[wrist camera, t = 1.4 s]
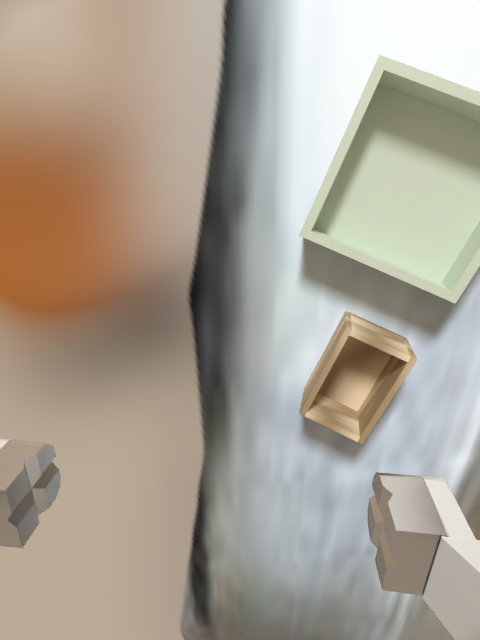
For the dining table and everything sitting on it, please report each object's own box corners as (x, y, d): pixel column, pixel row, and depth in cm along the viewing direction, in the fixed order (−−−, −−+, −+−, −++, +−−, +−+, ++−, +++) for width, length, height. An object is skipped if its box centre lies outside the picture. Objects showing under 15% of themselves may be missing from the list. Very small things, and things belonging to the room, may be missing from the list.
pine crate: (406, 338, 35) (417, 359, 30) (359, 414, 38) (362, 444, 33) (345, 310, 35) (346, 327, 31) (304, 388, 39) (299, 413, 34)
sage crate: (540, 135, 28) (570, 126, 25) (442, 292, 33) (455, 303, 29) (374, 73, 30) (379, 54, 26) (303, 231, 34) (299, 235, 31)
